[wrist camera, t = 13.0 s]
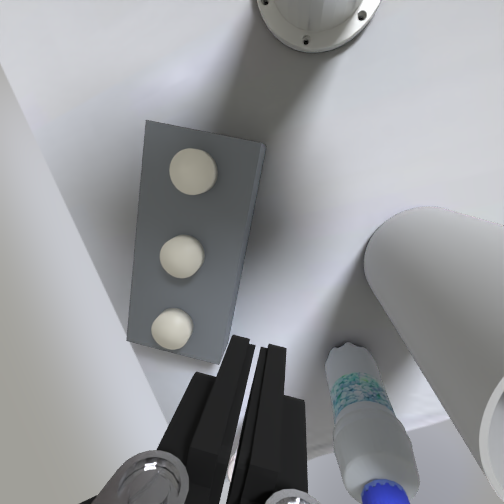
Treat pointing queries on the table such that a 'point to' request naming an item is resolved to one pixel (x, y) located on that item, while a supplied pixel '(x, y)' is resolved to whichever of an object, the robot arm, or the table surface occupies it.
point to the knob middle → (182, 256)
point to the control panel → (198, 226)
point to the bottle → (368, 431)
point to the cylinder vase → (449, 316)
